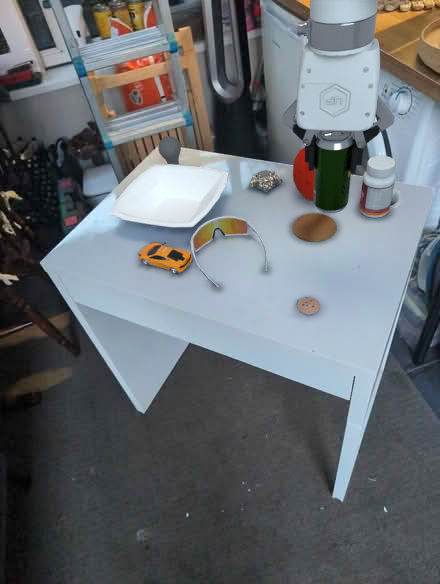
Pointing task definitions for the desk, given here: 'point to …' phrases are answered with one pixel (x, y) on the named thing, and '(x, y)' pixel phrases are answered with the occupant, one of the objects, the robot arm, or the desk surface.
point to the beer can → (332, 170)
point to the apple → (303, 176)
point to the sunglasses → (227, 228)
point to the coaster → (314, 227)
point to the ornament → (265, 180)
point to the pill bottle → (377, 186)
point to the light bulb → (170, 149)
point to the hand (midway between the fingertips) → (332, 166)
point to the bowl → (171, 195)
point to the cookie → (308, 305)
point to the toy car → (165, 257)
